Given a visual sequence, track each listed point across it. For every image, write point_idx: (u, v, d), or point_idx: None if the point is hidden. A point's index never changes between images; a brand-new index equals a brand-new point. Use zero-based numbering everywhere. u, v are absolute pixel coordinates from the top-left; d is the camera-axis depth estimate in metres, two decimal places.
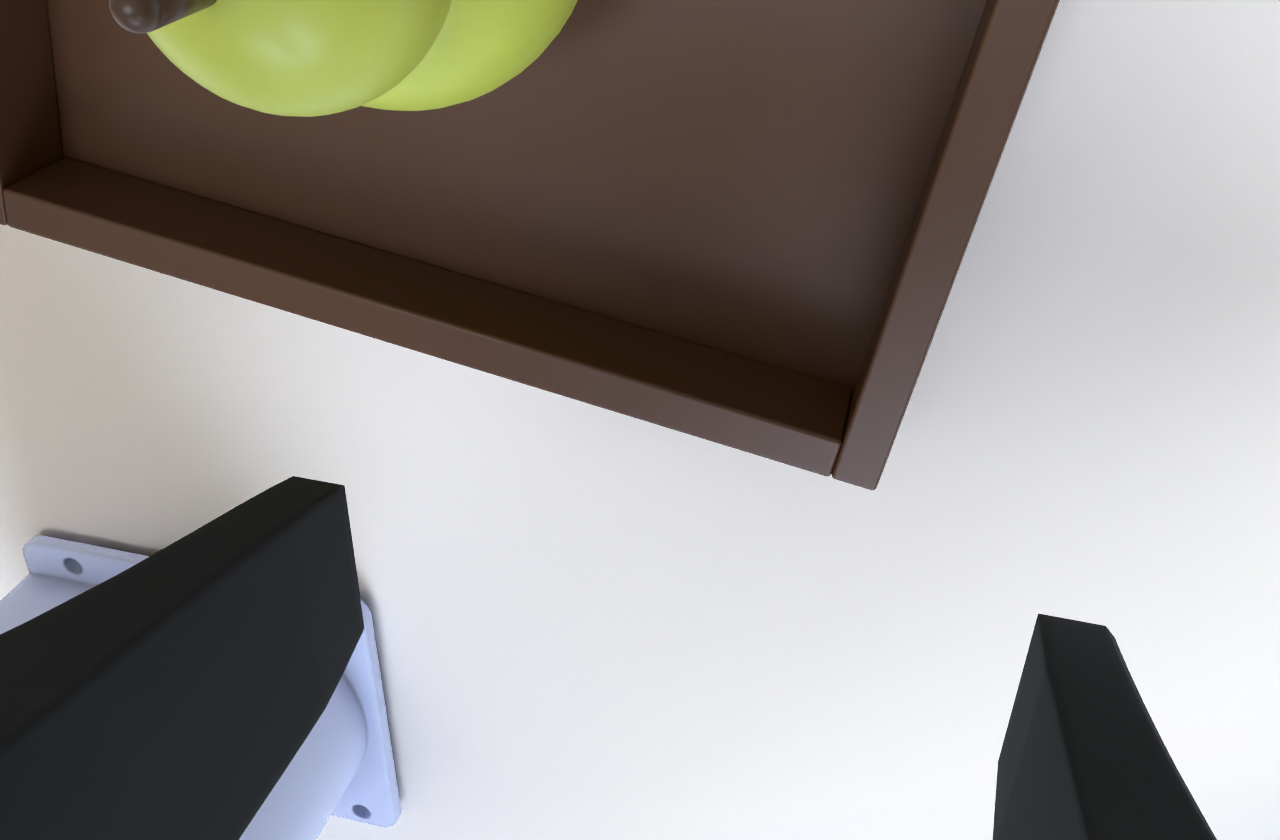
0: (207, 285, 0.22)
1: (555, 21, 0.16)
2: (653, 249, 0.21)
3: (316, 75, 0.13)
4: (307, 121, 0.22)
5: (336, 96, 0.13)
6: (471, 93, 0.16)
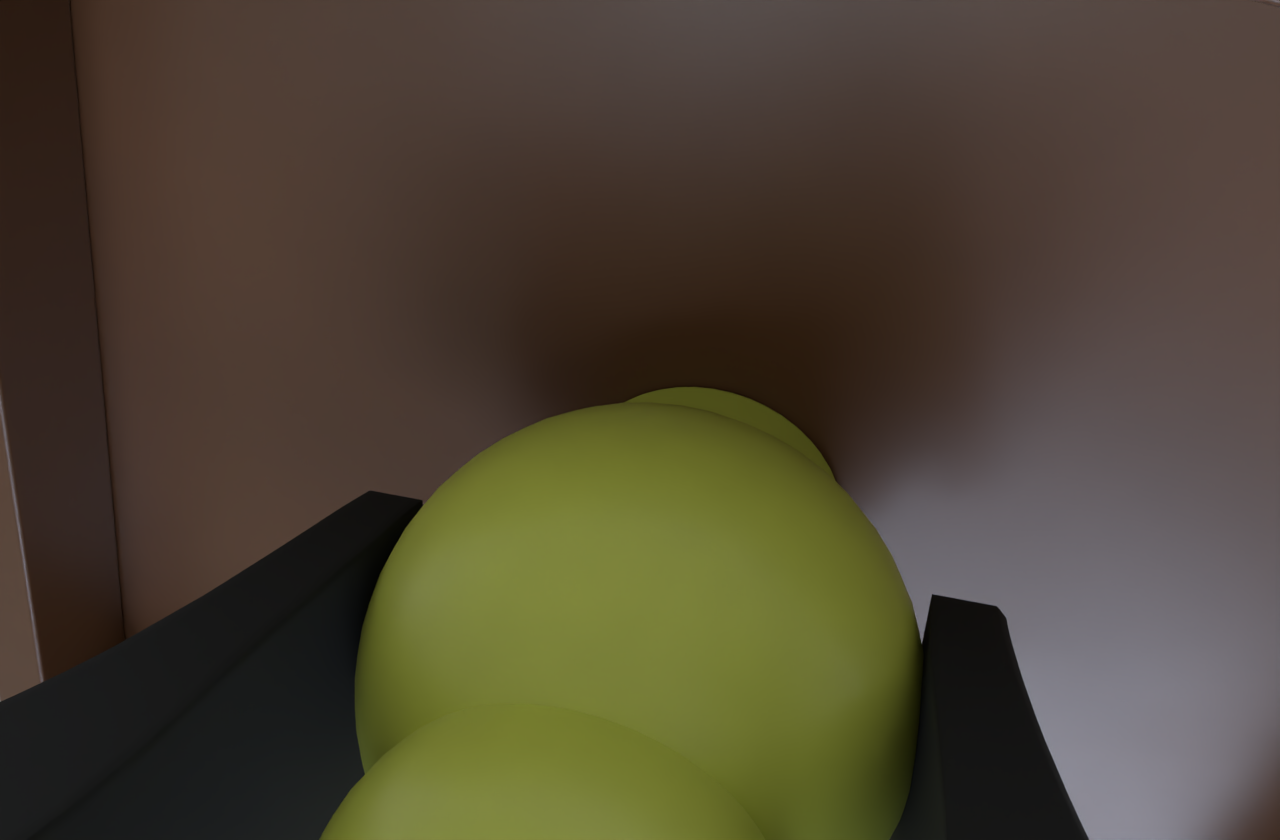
0: None
1: None
2: None
3: None
4: None
5: None
6: None
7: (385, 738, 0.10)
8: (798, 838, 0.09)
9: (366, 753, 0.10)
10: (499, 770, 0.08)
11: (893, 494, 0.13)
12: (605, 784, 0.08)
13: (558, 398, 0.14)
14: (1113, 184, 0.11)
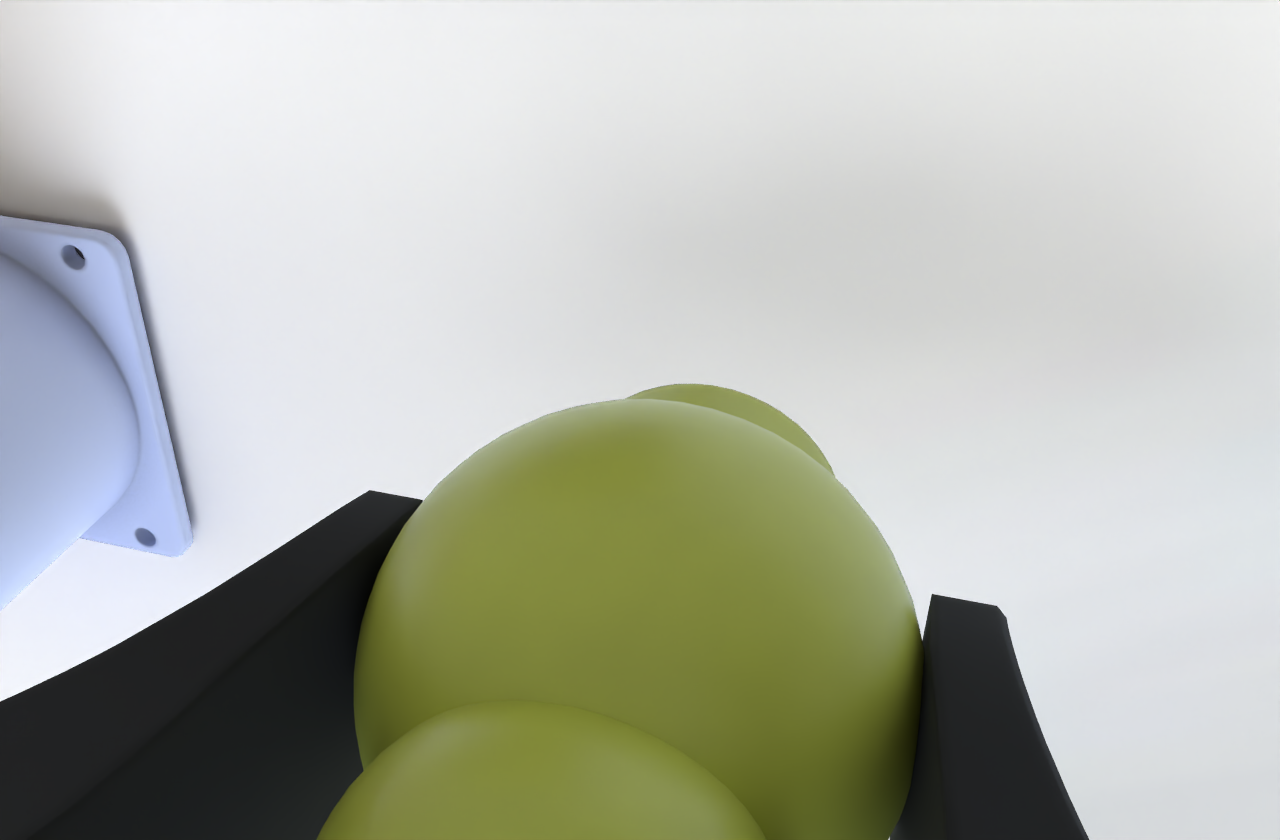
0: None
1: None
2: None
3: None
4: None
5: None
6: None
7: (383, 735, 0.10)
8: (798, 835, 0.09)
9: (365, 750, 0.10)
10: (498, 766, 0.08)
11: None
12: (603, 780, 0.08)
13: None
14: None
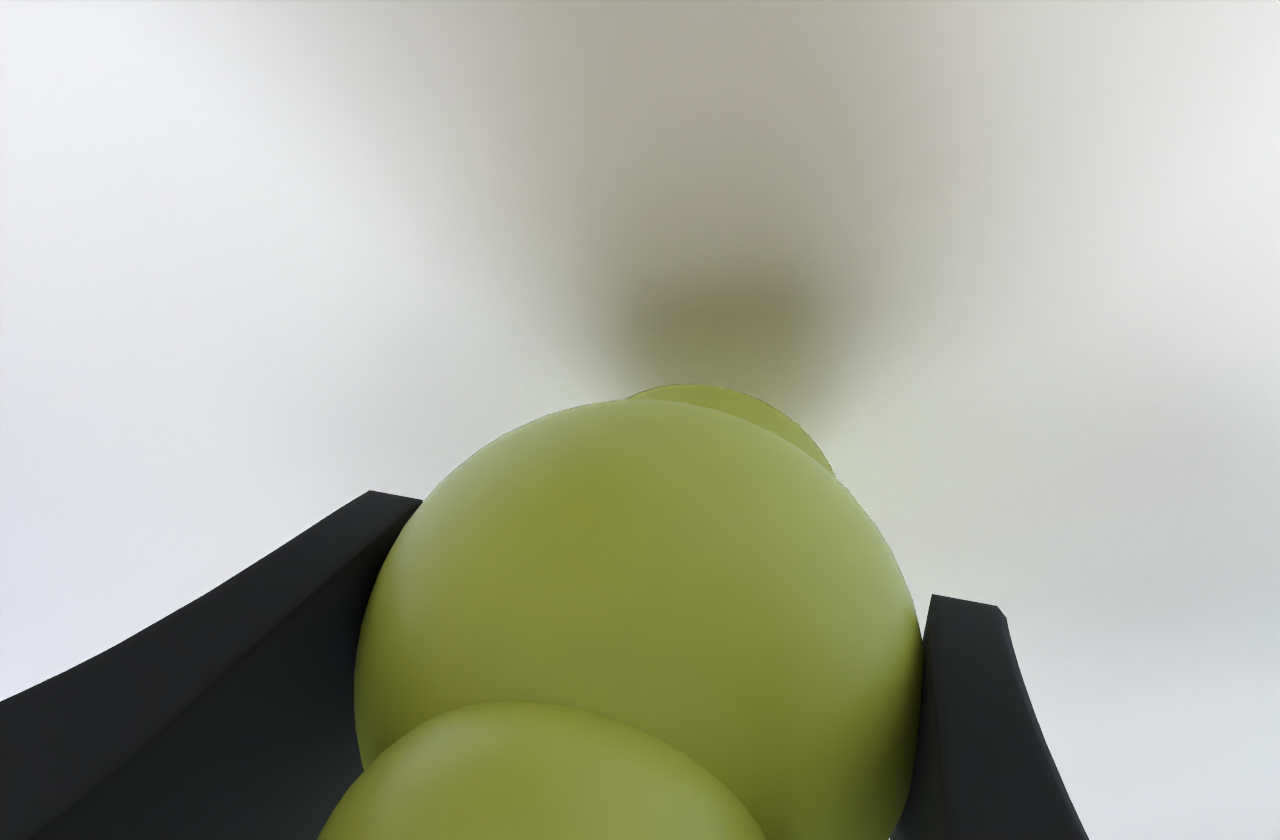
0: None
1: None
2: None
3: None
4: None
5: None
6: None
7: (384, 735, 0.10)
8: (798, 837, 0.09)
9: (365, 750, 0.10)
10: (499, 767, 0.08)
11: None
12: (604, 780, 0.08)
13: None
14: None
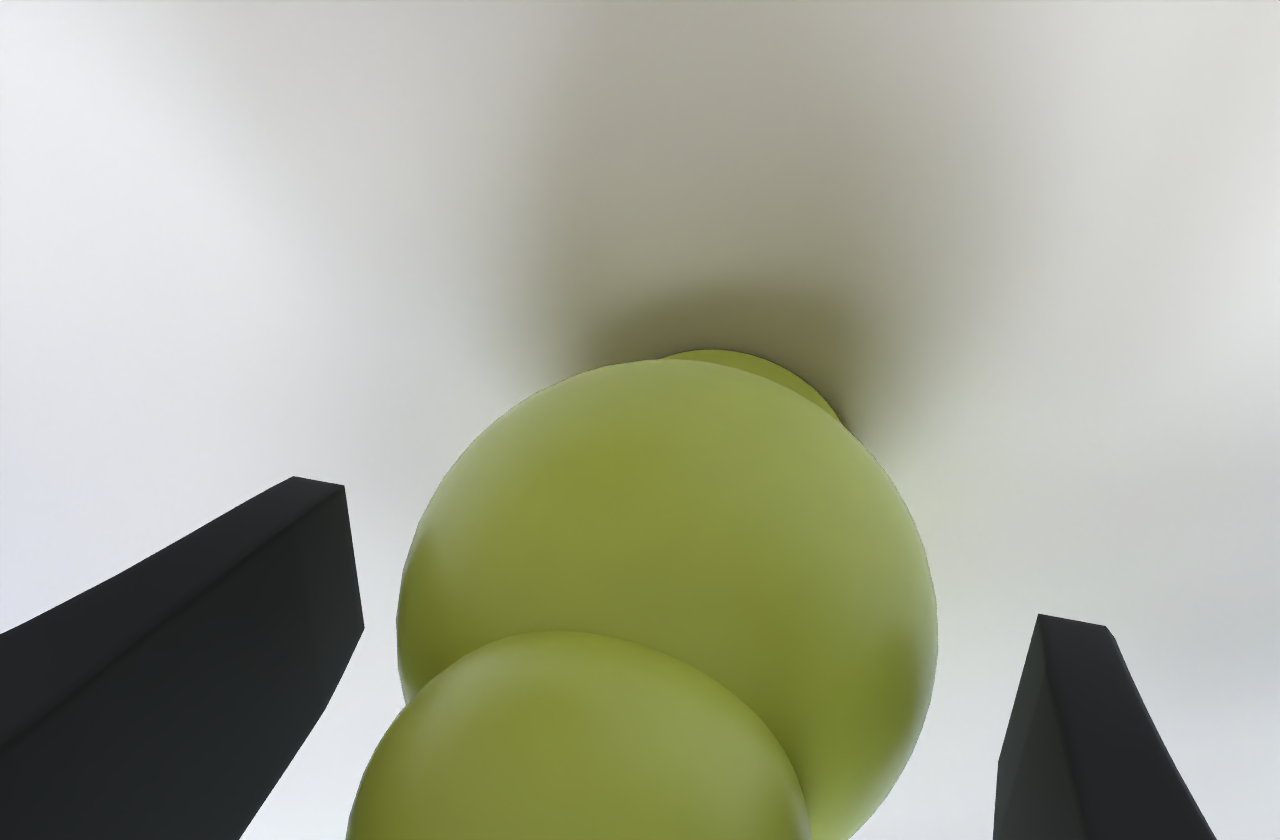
0: None
1: None
2: None
3: None
4: None
5: None
6: None
7: (429, 668, 0.10)
8: (818, 759, 0.10)
9: (409, 685, 0.11)
10: (543, 685, 0.09)
11: None
12: (641, 697, 0.09)
13: None
14: None
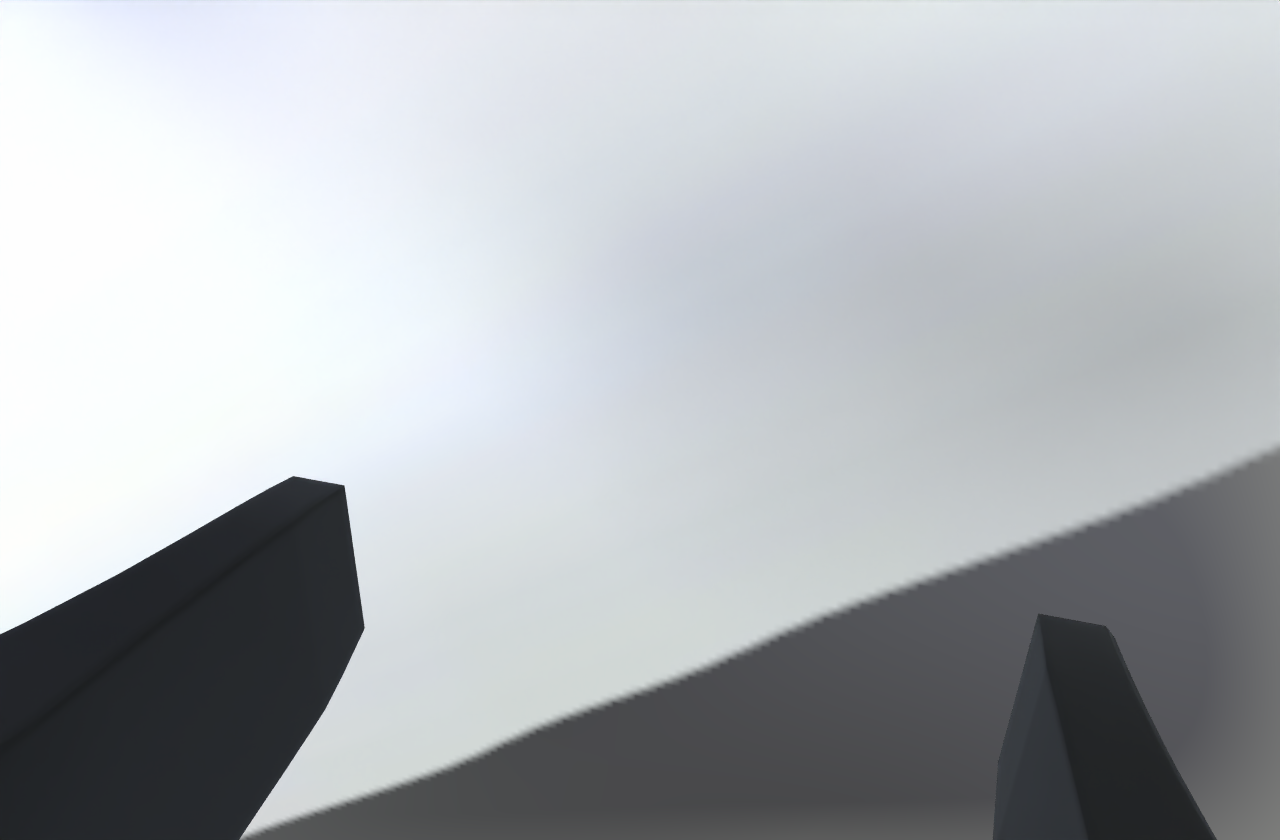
0: None
1: None
2: None
3: None
4: None
5: None
6: None
7: None
8: None
9: None
10: None
11: None
12: None
13: None
14: None
